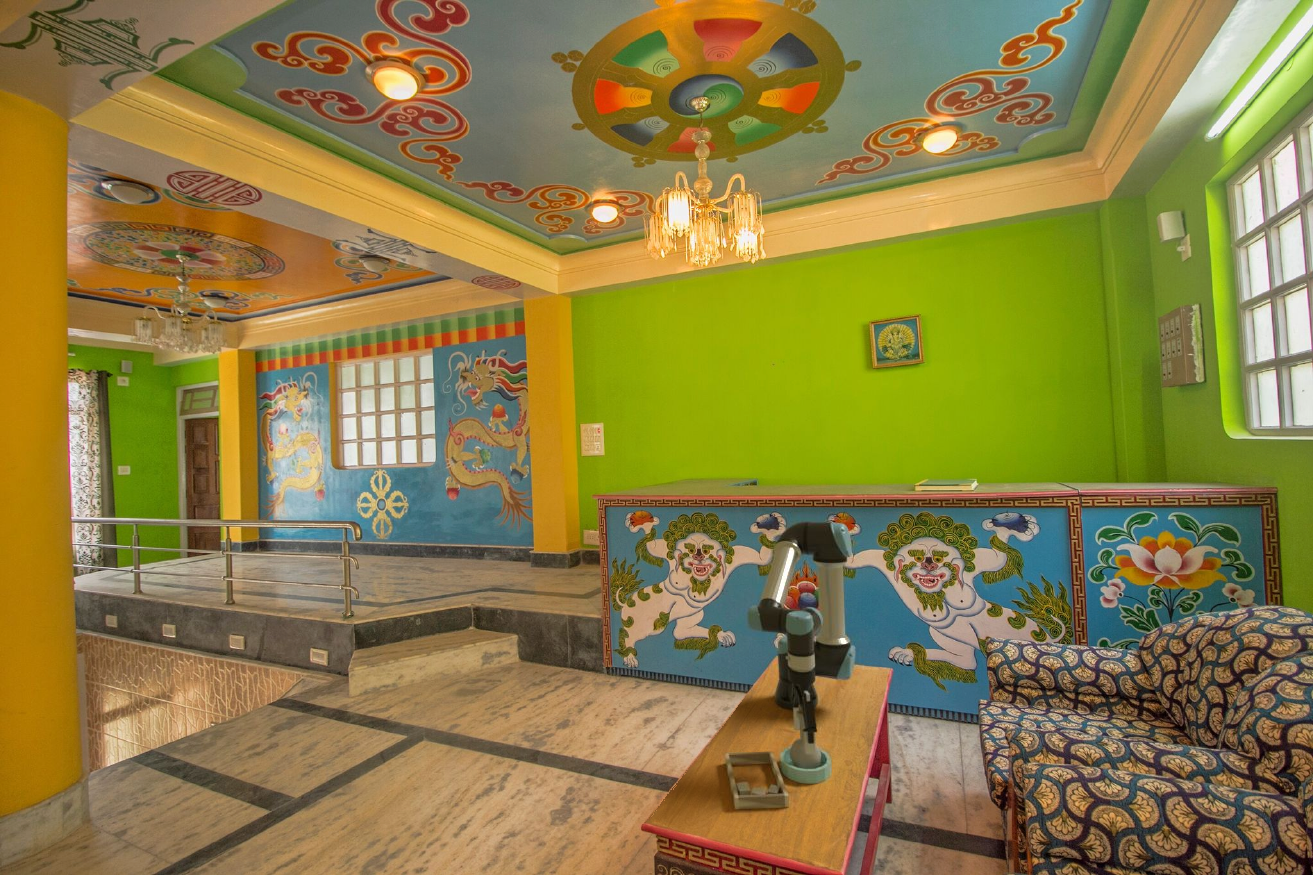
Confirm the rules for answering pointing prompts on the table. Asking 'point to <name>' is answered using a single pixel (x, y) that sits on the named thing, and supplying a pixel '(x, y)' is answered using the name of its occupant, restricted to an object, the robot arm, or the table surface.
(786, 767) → the bowl
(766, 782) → the table surface
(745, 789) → the grey block
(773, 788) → the pebble
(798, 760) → the potion bottle
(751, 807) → the tray
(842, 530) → the robot arm
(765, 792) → the pebble
